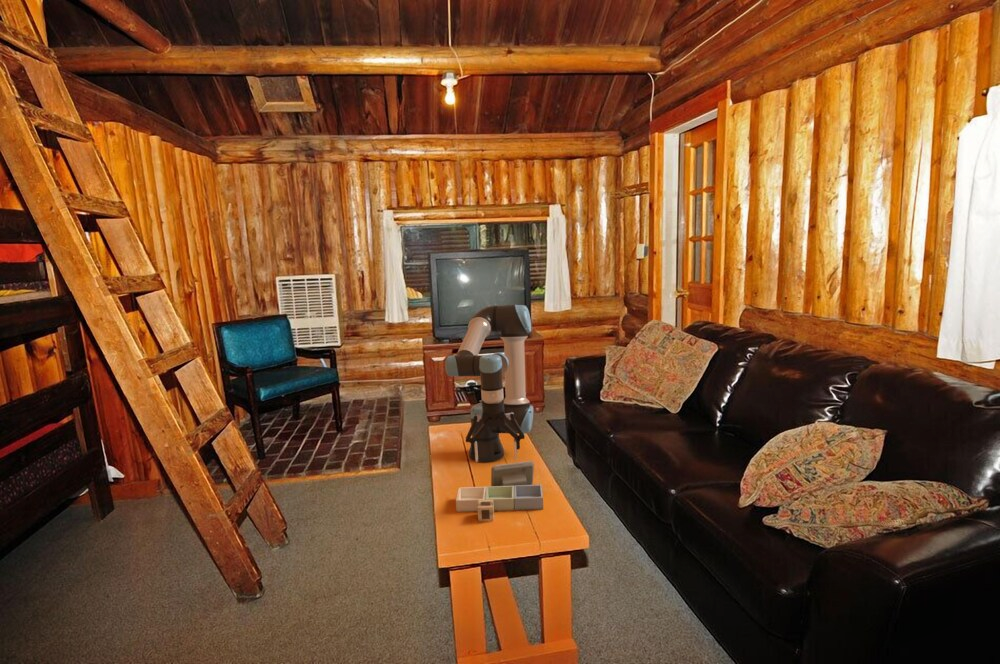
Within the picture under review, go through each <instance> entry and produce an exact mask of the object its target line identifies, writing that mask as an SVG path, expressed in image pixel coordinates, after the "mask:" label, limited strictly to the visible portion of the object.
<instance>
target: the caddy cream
mask: <svg viewBox="0 0 1000 664" xmlns="http://www.w3.org/2000/svg"><path fill="white" fill-rule="evenodd" d="M486 488H487V486H466V487H465V486H464V487H458V491H457V495H456V498H455V507H456V513H470V512H471V513H472V512H478V502H479V500H485V496H486Z"/></svg>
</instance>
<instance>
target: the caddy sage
mask: <svg viewBox="0 0 1000 664" xmlns="http://www.w3.org/2000/svg"><path fill="white" fill-rule="evenodd" d="M485 500H493V501H494V512H496V511H498V512H499V511H504V512H505V511H515V504H514V486H491V485H490V486H486V496H485Z"/></svg>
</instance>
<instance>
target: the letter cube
mask: <svg viewBox="0 0 1000 664" xmlns="http://www.w3.org/2000/svg"><path fill="white" fill-rule="evenodd" d="M477 518H478V522H494V519H495V511H494V501H493V500H479V502H478V511H477Z"/></svg>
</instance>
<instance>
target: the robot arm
mask: <svg viewBox="0 0 1000 664" xmlns="http://www.w3.org/2000/svg"><path fill="white" fill-rule="evenodd" d="M467 329H468V330H467V332H466V334H465V336H464V337H463V340H462V342H461V344H460V347H459V348H458V351H457V352H456V355H455V354H453V355H448V356H447V357H446V359H445V366H444V367H445V373H446V375H447V376H449V377H457V378H459V377H479V379H480V392H481V402H479V403H476V404H474V405H473V406H472V407H471V408H470V417H469V418H470V428H469V430H468V432H467V434H466V437H465V443H470V446H469V450H468V457H469V459H470V460H471V461H473V462H475V463H493V462H496V461H499V460H501V459H502V458H504V456H505V449H504V445H503V443H502V440H501V439H500V434H509V435H510V437H512V438H513V449H514V460H516V461H517V460H518V454H517V453H518V450H520V448H521V445H520V443H521V442H520V441H521V440H524V439H525V438H526V437H525V434H529V433H530V431H531V430H532V426H533V421H534V406H533V405H531V403H530V400H529V399H528V398H527V394H526V387H527V386H526V361H525V360H526V359H525V358H526V356H525V352H526V351H525V341H526V339H528V337H529V336H528V335H529V334H530V333H531V332H532V320H531V316H530V310H529V309H528V307H527V305H524V304H507V305H506V304H505V305H490V306H486V307H484V308H482V309H480V310H478V311H477V312H476V313H475V314H473V316H472V317H471V318H470V320H469V323H468V325H467ZM490 334H499V335H500V336H499V338H500V339H501V340H502V342H503V352H504V353H502V352H494V353H493V354H491V353H490V354H480V351H481V349H482V346H483V343H484V342H485V339H486V338H487V337H488V336H489V335H490ZM503 376H504V379H503ZM503 380H504V381H503ZM503 382H504V384H505V385H504V384H503ZM504 388H505V389H504ZM504 391H505V397H504Z"/></svg>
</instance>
